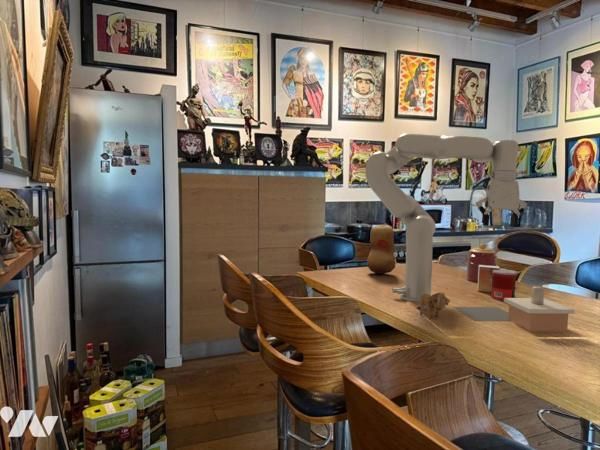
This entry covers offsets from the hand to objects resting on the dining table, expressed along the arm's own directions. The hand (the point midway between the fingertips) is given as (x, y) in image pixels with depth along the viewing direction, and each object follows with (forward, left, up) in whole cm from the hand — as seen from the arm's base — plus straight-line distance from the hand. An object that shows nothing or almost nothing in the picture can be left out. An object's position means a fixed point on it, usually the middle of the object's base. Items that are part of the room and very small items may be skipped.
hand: (499, 226), depth 139 cm
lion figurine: (-27, -11, -29) cm, 41 cm away
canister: (+19, +49, -29) cm, 60 cm away
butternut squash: (-26, +62, -29) cm, 73 cm away
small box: (+11, +27, -29) cm, 41 cm away
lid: (+1, -21, -23) cm, 31 cm away
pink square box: (+1, -21, -29) cm, 36 cm away
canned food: (+9, +12, -29) cm, 33 cm away
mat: (-8, -9, -29) cm, 31 cm away
